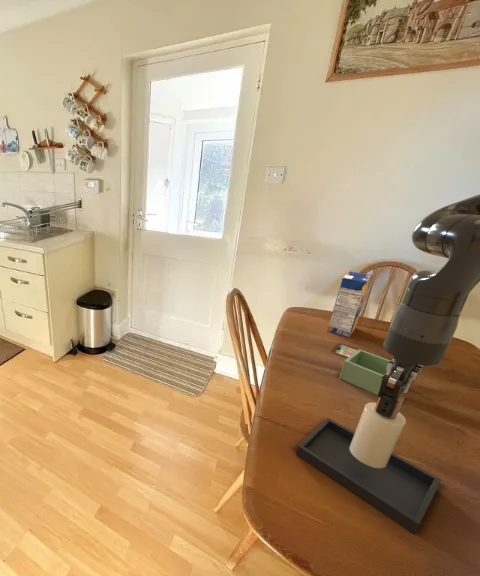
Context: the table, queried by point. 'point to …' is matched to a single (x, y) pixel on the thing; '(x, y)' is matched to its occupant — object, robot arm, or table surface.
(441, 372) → the table surface
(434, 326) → the robot arm
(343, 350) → the smartphone
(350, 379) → the bin
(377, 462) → the bottle
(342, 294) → the beverage box
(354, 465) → the tray
